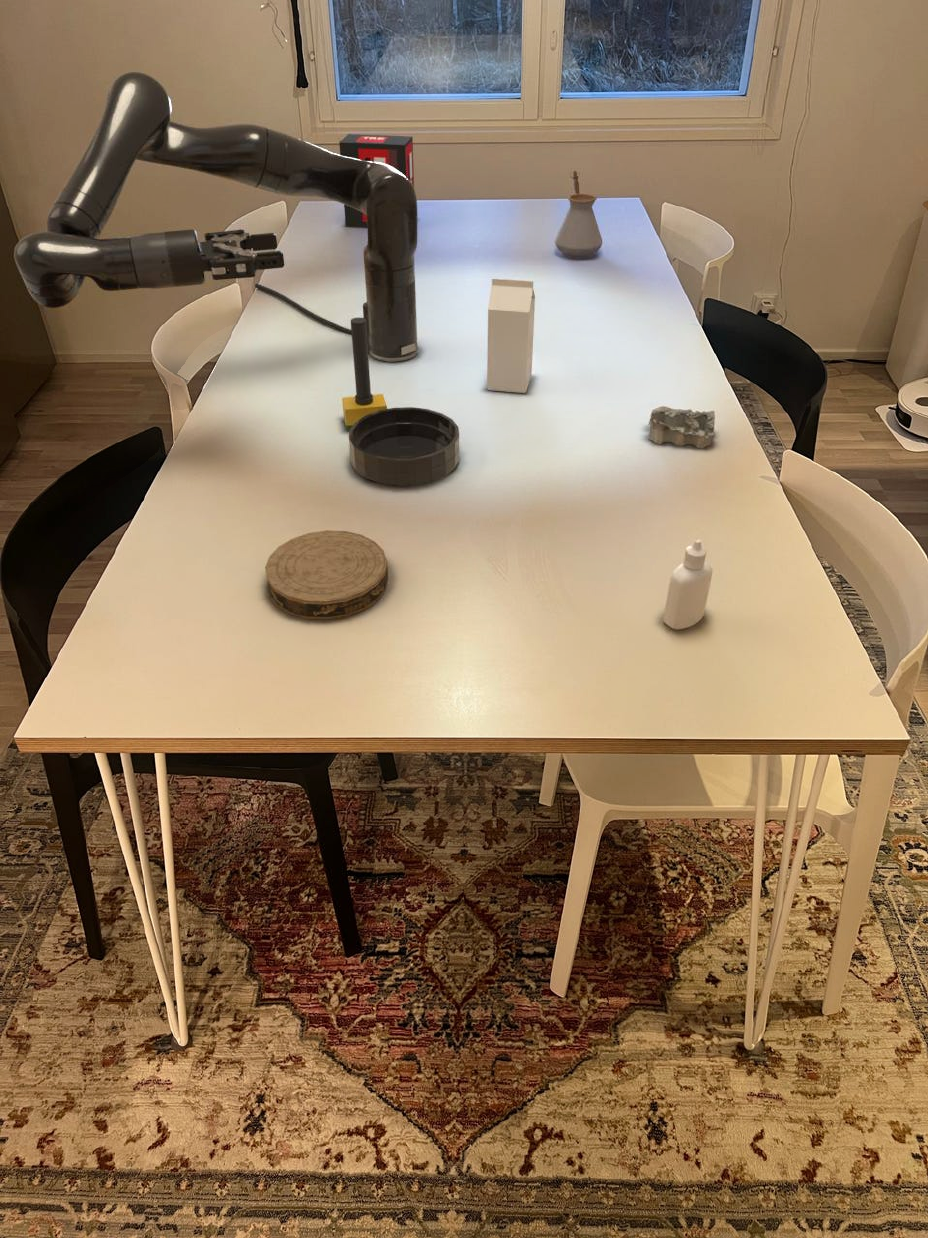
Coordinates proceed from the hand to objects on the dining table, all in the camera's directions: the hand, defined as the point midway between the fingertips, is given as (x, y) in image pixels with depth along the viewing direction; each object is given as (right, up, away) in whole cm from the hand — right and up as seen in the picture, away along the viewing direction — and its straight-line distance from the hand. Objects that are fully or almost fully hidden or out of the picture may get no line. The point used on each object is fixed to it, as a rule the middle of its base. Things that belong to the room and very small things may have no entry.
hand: (279, 249), depth 139 cm
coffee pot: (+55, +37, +92) cm, 113 cm away
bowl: (+18, -29, +11) cm, 36 cm away
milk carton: (+36, -12, +33) cm, 50 cm away
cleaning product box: (+5, +49, +108) cm, 118 cm away
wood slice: (+9, -50, -14) cm, 53 cm away
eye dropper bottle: (+55, -55, -20) cm, 80 cm away
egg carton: (+63, -24, +18) cm, 70 cm away
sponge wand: (+10, -21, +21) cm, 32 cm away
